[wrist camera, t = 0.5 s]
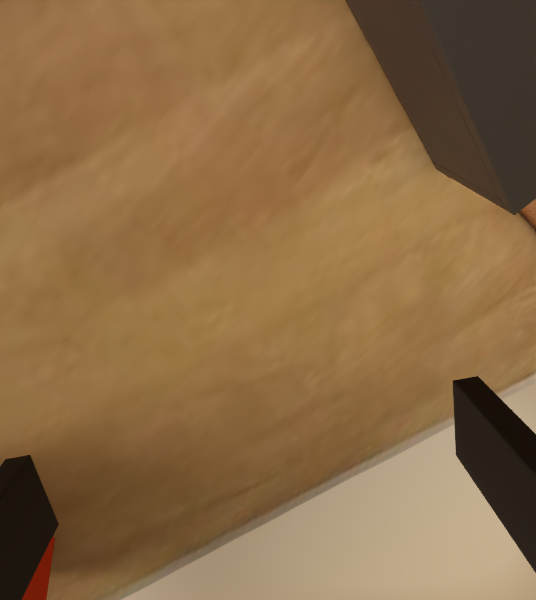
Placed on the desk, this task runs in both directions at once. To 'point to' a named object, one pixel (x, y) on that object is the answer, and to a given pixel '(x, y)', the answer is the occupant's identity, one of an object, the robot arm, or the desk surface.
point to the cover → (464, 86)
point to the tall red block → (41, 576)
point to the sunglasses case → (530, 213)
